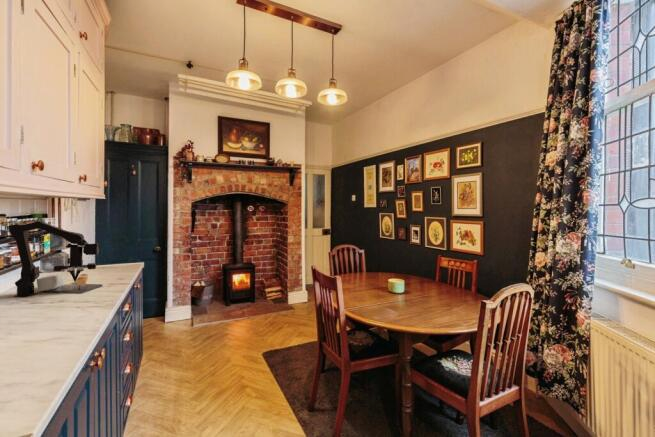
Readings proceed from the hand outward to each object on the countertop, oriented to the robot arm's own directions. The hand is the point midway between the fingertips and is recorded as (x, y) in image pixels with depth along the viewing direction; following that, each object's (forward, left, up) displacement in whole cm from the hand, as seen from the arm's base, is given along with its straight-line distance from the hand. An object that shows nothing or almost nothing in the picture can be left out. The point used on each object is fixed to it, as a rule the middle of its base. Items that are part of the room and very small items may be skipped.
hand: (75, 281), depth 174 cm
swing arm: (+6, 0, -2) cm, 6 cm away
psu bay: (+5, +3, -6) cm, 8 cm away
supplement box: (+9, +19, -2) cm, 21 cm away
